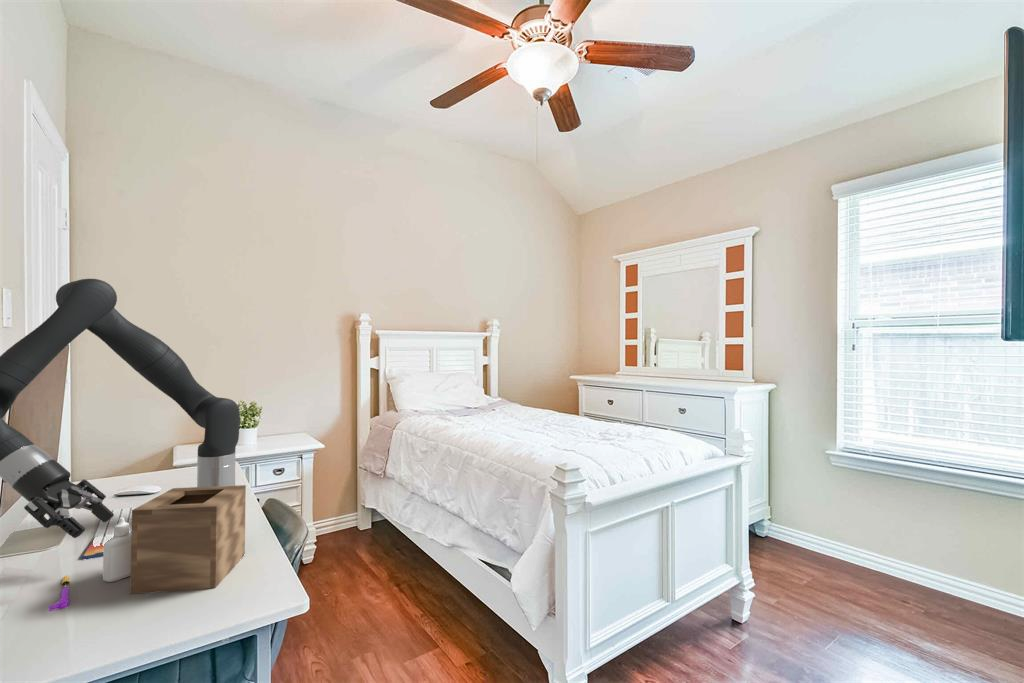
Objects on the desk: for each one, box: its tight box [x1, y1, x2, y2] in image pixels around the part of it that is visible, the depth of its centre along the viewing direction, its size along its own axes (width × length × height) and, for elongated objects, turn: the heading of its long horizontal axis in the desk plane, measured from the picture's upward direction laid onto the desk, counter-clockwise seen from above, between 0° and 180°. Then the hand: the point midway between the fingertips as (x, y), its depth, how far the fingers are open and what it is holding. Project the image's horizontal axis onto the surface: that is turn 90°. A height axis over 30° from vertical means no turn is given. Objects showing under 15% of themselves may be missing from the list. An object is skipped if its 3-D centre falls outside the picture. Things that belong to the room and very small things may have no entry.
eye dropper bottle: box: [102, 516, 131, 583], centre depth 99 cm, size 4×6×12 cm
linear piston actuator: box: [48, 575, 70, 612], centre depth 92 cm, size 3×1×16 cm
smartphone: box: [81, 536, 104, 560], centre depth 115 cm, size 7×15×1 cm, turn 32°
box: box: [129, 484, 247, 595], centre depth 100 cm, size 15×15×16 cm
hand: (95, 526), depth 98 cm, fingers open, 8 cm apart
